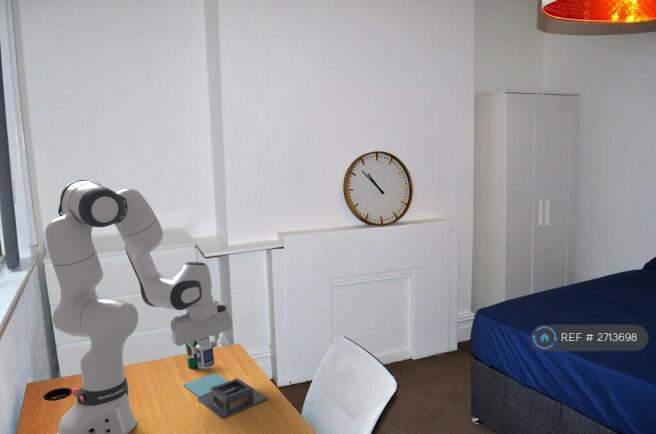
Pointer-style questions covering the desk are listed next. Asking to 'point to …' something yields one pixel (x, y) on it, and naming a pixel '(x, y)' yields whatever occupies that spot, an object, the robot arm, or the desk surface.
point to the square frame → (231, 398)
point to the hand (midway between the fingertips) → (204, 350)
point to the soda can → (191, 356)
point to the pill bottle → (205, 353)
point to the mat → (205, 384)
